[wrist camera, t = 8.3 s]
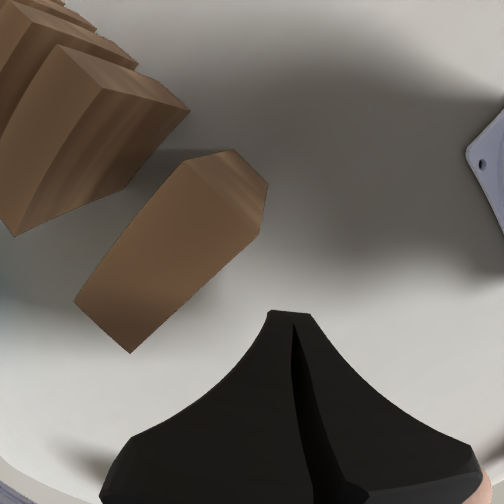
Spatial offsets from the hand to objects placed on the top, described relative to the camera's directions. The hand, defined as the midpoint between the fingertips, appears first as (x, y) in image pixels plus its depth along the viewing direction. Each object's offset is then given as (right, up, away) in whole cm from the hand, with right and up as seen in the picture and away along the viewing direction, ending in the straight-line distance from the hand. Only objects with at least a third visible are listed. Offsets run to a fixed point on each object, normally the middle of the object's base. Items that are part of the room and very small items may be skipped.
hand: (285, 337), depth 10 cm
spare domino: (-3, +5, +3) cm, 6 cm away
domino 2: (-6, +8, +2) cm, 10 cm away
